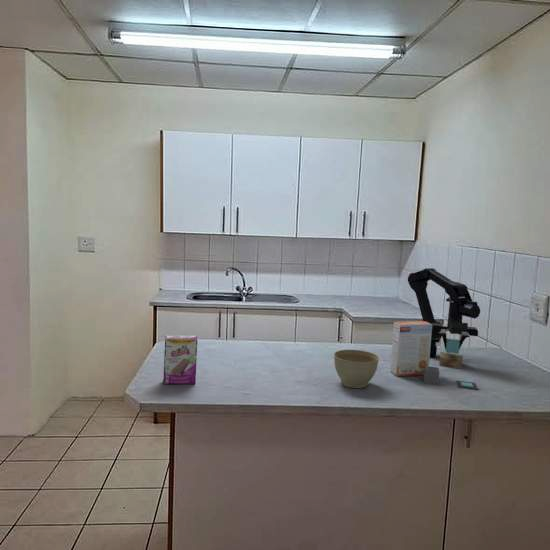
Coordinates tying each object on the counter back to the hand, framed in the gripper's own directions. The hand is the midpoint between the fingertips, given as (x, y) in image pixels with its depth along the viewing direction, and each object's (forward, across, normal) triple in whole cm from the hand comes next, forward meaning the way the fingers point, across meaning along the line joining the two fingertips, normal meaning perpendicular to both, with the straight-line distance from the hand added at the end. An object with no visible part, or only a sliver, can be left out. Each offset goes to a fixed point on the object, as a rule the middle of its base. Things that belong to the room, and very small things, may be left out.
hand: (451, 349), depth 214 cm
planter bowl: (+7, -38, -42) cm, 57 cm away
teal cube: (+1, 0, 0) cm, 1 cm away
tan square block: (+7, 0, 0) cm, 7 cm away
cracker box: (+7, -18, -21) cm, 29 cm away
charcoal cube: (+7, -10, -27) cm, 30 cm away
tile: (+7, +3, -27) cm, 28 cm away
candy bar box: (+7, -97, -64) cm, 116 cm away
